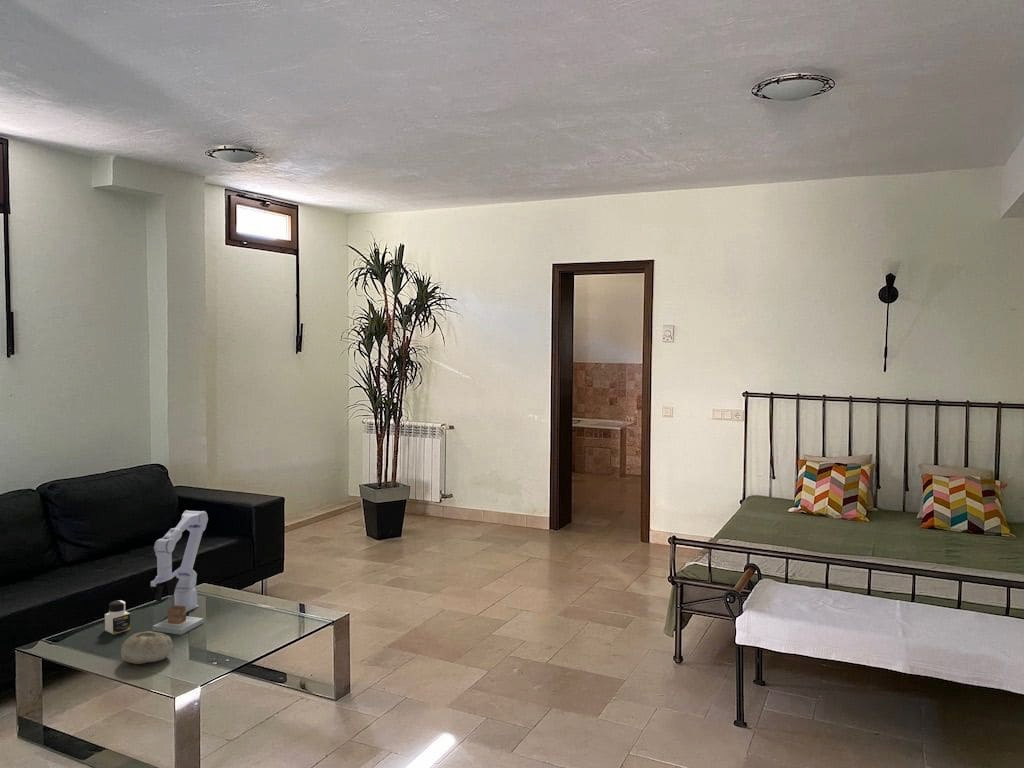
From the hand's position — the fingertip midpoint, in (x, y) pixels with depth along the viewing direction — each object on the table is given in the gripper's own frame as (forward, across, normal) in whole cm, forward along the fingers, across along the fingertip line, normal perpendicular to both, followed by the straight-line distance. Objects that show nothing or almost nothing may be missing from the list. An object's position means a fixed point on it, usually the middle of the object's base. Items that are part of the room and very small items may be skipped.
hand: (164, 598), depth 338 cm
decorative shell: (+10, +36, +22) cm, 43 cm away
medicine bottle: (+10, +15, -11) cm, 21 cm away
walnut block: (+8, +4, +9) cm, 13 cm away
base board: (+10, +4, +10) cm, 15 cm away
